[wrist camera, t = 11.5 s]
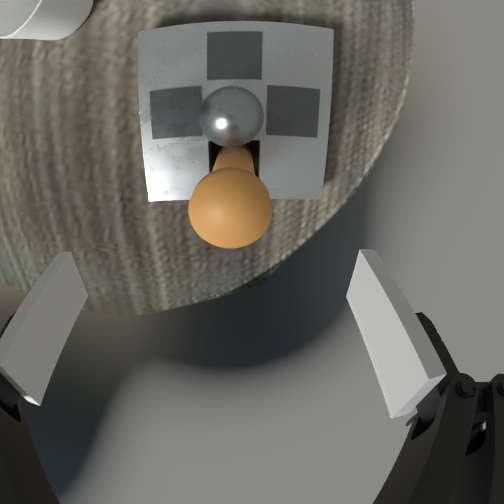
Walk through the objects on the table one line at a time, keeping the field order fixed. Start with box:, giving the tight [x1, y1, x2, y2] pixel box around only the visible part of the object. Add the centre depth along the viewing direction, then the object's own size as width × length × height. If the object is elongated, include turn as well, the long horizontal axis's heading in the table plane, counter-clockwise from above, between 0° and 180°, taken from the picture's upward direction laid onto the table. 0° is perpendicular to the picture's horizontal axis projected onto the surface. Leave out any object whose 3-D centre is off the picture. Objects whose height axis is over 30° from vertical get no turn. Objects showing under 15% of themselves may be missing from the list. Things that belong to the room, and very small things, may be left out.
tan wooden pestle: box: [189, 144, 272, 248], centre depth 25 cm, size 6×6×15 cm
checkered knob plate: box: [138, 21, 334, 201], centre depth 23 cm, size 20×20×11 cm
